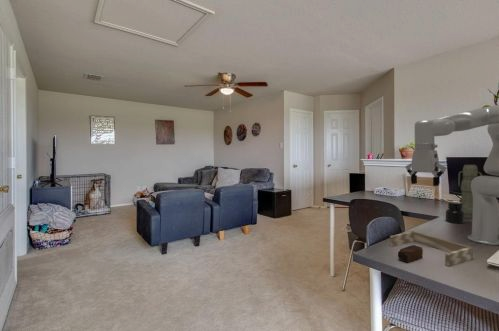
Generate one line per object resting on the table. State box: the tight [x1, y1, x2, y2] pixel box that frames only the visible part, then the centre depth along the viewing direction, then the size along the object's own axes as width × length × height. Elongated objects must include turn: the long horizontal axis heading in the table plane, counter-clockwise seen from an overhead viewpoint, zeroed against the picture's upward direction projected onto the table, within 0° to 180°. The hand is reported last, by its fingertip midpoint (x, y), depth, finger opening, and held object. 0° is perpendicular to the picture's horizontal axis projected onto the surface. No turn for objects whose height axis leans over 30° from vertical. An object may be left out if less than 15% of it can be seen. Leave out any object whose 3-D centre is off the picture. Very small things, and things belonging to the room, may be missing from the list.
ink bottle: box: [445, 201, 465, 224], centre depth 160 cm, size 10×9×12 cm
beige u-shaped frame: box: [389, 231, 474, 267], centre depth 112 cm, size 17×24×4 cm
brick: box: [397, 244, 424, 264], centre depth 104 cm, size 11×4×5 cm, turn 118°
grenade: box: [457, 164, 483, 220], centre depth 171 cm, size 9×12×35 cm
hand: (424, 184), depth 119 cm, fingers open, 9 cm apart
